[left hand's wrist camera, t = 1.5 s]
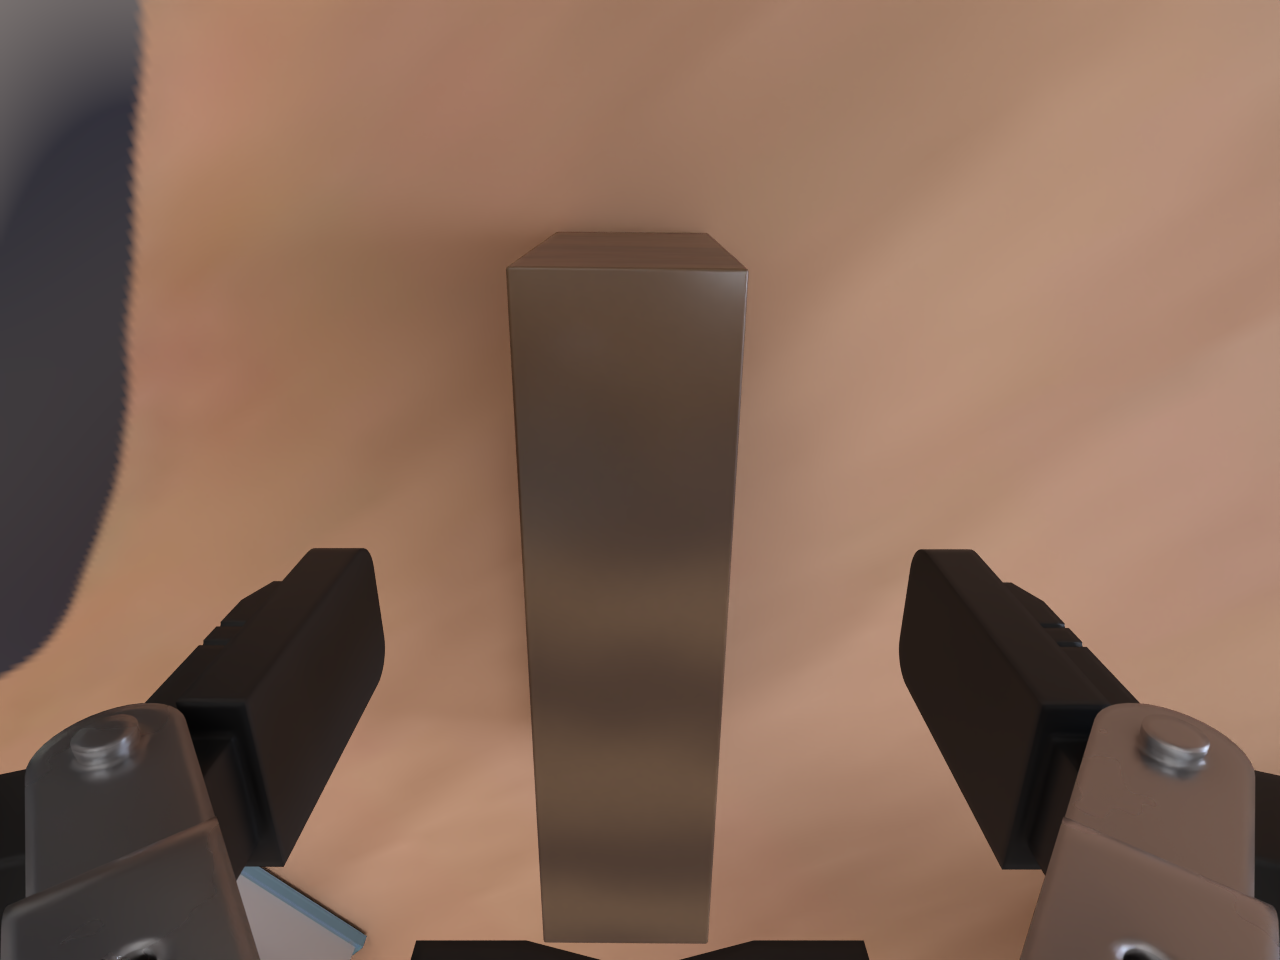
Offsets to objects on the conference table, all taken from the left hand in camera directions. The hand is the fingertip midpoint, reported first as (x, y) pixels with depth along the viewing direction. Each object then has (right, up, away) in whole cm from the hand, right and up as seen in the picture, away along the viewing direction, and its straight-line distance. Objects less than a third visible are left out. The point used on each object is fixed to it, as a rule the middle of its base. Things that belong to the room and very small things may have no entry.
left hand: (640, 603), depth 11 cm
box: (0, 0, +23) cm, 23 cm away
